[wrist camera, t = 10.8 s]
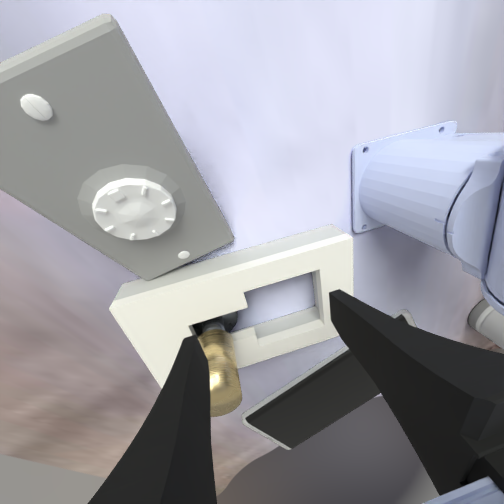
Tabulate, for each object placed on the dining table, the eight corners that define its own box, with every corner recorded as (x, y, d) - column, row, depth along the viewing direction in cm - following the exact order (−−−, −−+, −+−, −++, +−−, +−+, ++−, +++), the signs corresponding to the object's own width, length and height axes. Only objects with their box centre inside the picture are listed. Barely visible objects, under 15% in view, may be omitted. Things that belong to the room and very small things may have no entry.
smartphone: (424, 352, 36) (434, 361, 35) (285, 440, 39) (288, 453, 38) (400, 303, 30) (411, 312, 29) (238, 412, 33) (240, 425, 32)
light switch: (148, 291, 20) (-126, 135, 8) (141, 240, 23) (-57, 73, 11) (239, 249, 20) (112, 21, 7) (219, 203, 23) (108, -7, 11)
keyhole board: (331, 224, 22) (353, 237, 19) (336, 309, 27) (353, 331, 24) (122, 283, 21) (108, 309, 18) (169, 362, 26) (164, 392, 23)
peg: (239, 291, 24) (260, 376, 15) (230, 328, 25) (245, 421, 17) (190, 288, 22) (185, 378, 14) (185, 326, 24) (177, 426, 16)
